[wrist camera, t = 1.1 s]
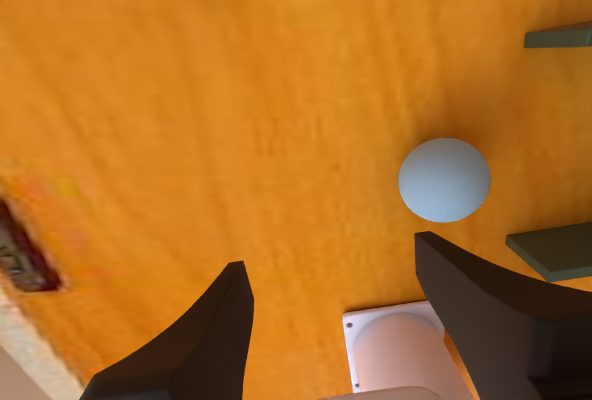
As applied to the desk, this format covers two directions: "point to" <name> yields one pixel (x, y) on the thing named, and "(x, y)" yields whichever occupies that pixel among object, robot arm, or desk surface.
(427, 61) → the desk surface
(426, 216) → the ball
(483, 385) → the robot arm
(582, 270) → the box
